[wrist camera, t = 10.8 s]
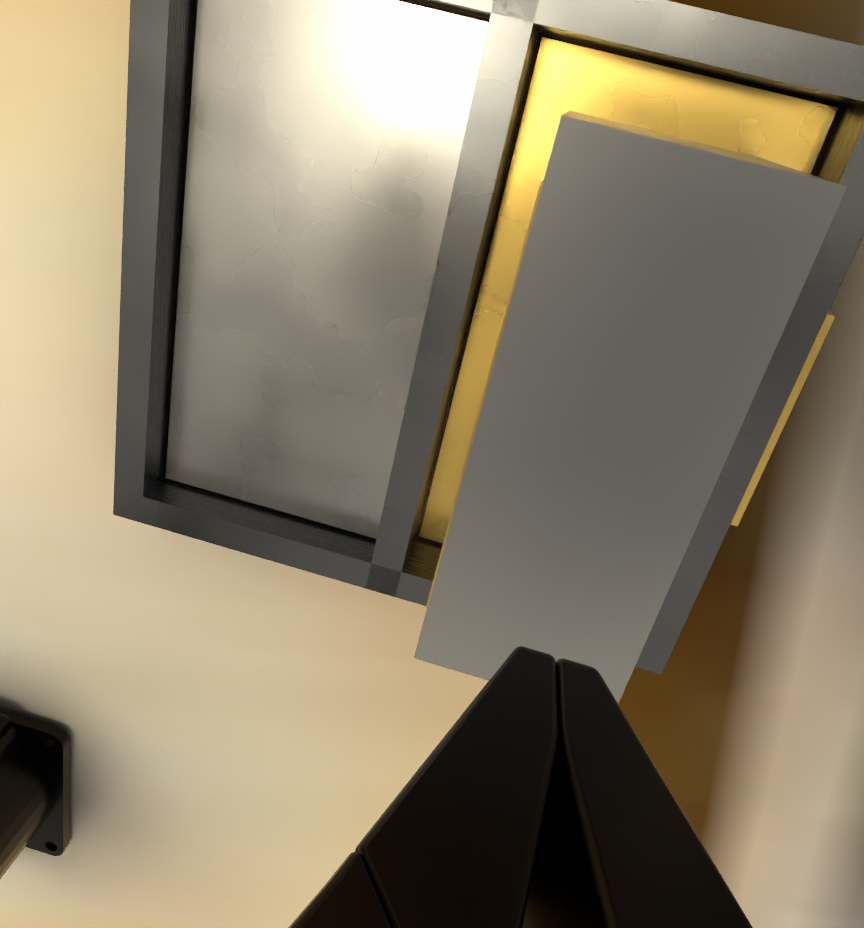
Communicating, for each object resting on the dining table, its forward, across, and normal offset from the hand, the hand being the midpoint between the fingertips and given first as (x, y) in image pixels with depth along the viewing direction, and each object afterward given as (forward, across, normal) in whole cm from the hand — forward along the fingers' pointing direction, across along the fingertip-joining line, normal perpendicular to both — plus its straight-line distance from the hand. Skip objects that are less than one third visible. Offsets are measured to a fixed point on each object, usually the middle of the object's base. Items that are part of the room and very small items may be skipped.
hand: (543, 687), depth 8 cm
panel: (+12, 0, 0) cm, 12 cm away
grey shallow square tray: (+12, +3, 0) cm, 12 cm away
